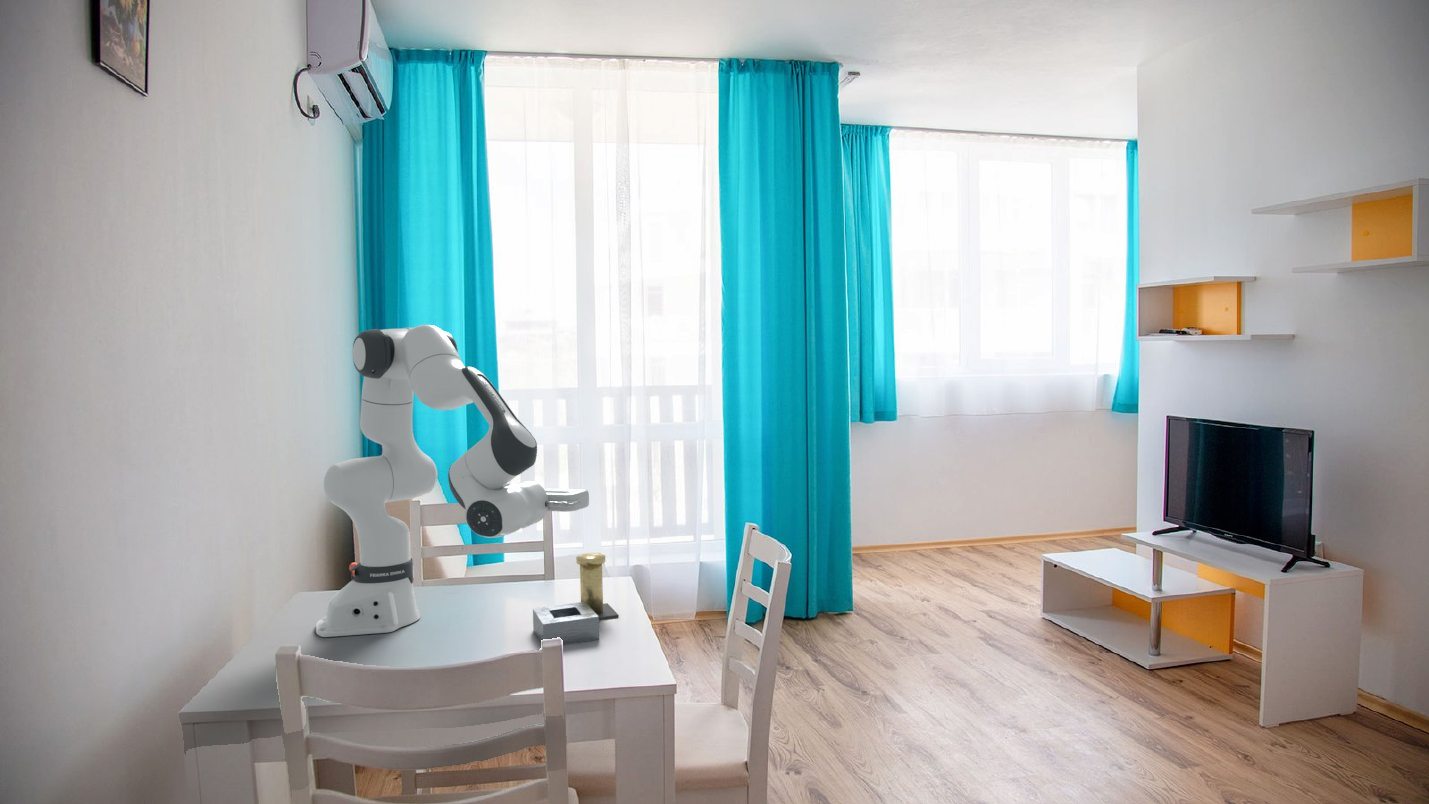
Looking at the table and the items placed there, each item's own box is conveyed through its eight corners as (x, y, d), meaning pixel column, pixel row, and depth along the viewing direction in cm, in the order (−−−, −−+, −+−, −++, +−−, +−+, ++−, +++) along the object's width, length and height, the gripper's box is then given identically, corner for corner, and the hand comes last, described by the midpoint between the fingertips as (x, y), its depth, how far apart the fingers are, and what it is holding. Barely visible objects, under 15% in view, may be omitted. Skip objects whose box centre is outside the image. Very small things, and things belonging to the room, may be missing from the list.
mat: (576, 623, 194) (576, 620, 194) (567, 610, 203) (566, 608, 203) (618, 617, 198) (618, 614, 197) (607, 605, 207) (607, 603, 207)
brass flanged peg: (581, 617, 196) (579, 561, 195) (574, 609, 202) (573, 555, 201) (609, 613, 198) (608, 558, 197) (602, 605, 205) (601, 552, 204)
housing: (543, 647, 178) (543, 624, 178) (533, 630, 189) (532, 608, 189) (599, 639, 182) (598, 616, 182) (586, 623, 194) (585, 601, 193)
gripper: (572, 489, 166) (600, 479, 179) (480, 486, 171) (514, 476, 185) (573, 521, 166) (601, 508, 179) (481, 517, 172) (515, 505, 185)
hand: (556, 492), depth 182 cm, fingers open, 8 cm apart
